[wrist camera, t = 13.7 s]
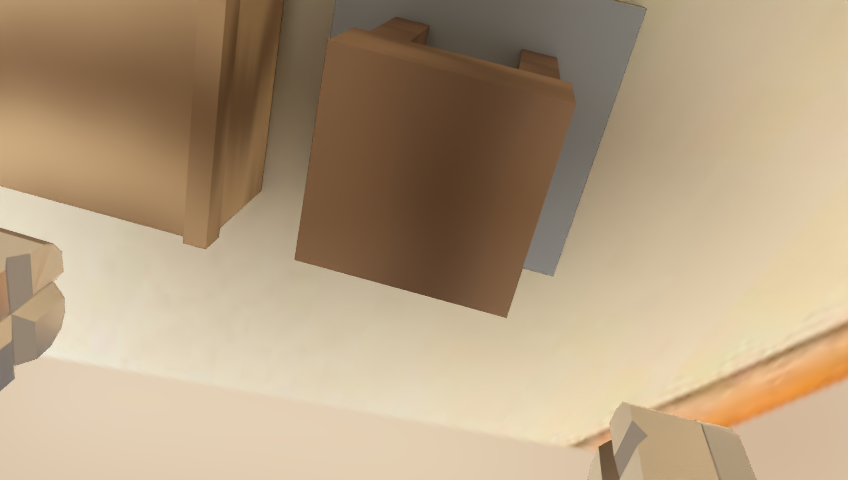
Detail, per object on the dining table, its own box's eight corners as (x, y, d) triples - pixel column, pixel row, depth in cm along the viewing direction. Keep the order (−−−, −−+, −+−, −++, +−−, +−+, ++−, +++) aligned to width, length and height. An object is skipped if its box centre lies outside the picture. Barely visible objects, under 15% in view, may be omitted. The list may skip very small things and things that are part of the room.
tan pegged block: (360, 172, 25) (294, 259, 18) (391, 9, 22) (327, 40, 16) (515, 214, 25) (506, 317, 18) (564, 53, 22) (576, 104, 15)
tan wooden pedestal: (11, -157, 23) (-122, -180, 18) (297, -86, 22) (233, -92, 18) (25, 131, 27) (-79, 171, 23) (262, 195, 27) (205, 249, 22)
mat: (350, -66, 22) (345, -66, 22) (643, 7, 22) (646, 9, 21) (308, 203, 27) (304, 209, 26) (552, 269, 26) (552, 276, 26)
